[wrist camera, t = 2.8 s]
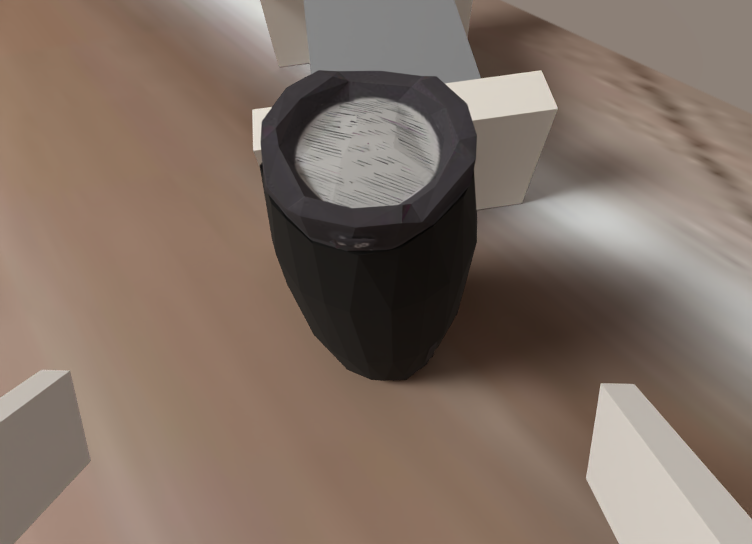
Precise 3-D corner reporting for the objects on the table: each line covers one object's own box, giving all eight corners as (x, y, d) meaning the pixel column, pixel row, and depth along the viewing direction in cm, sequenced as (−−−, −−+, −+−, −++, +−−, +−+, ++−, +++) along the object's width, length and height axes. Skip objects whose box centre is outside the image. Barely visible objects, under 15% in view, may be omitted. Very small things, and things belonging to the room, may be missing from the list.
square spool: (521, 203, 38) (558, 108, 29) (288, 236, 38) (253, 150, 29) (462, 28, 48) (476, -81, 39) (278, 53, 48) (249, -52, 39)
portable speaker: (305, 301, 35) (210, 91, 18) (421, 260, 36) (439, 24, 19) (342, 412, 31) (266, 279, 14) (470, 361, 32) (549, 181, 15)
